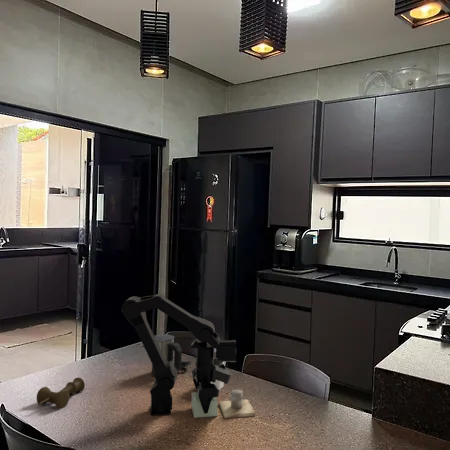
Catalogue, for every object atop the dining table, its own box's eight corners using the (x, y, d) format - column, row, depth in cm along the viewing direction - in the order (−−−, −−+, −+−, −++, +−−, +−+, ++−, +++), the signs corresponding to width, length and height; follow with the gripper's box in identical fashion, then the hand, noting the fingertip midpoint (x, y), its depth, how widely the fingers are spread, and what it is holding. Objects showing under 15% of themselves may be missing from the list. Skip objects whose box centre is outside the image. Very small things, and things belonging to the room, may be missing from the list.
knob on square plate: (224, 417, 138) (225, 399, 137) (219, 404, 147) (219, 386, 147) (255, 415, 139) (255, 397, 139) (247, 402, 149) (247, 385, 149)
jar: (227, 388, 161) (228, 356, 161) (210, 393, 156) (211, 360, 156) (213, 380, 168) (213, 350, 168) (196, 385, 163) (196, 354, 163)
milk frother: (146, 375, 172) (147, 339, 171) (163, 363, 187) (164, 329, 187) (179, 380, 168) (180, 342, 167) (194, 367, 183) (195, 332, 182)
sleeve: (194, 417, 137) (194, 402, 137) (191, 407, 144) (191, 392, 144) (217, 416, 138) (217, 400, 138) (213, 405, 146) (213, 391, 145)
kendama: (90, 394, 155) (50, 416, 136) (69, 390, 158) (26, 411, 140) (91, 377, 155) (50, 397, 136) (69, 373, 158) (26, 392, 140)
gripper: (235, 369, 133) (234, 419, 134) (223, 350, 152) (222, 394, 152) (199, 371, 131) (198, 422, 131) (192, 352, 149) (191, 396, 150)
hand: (204, 407), depth 141 cm, fingers closed on sleeve, 7 cm apart
